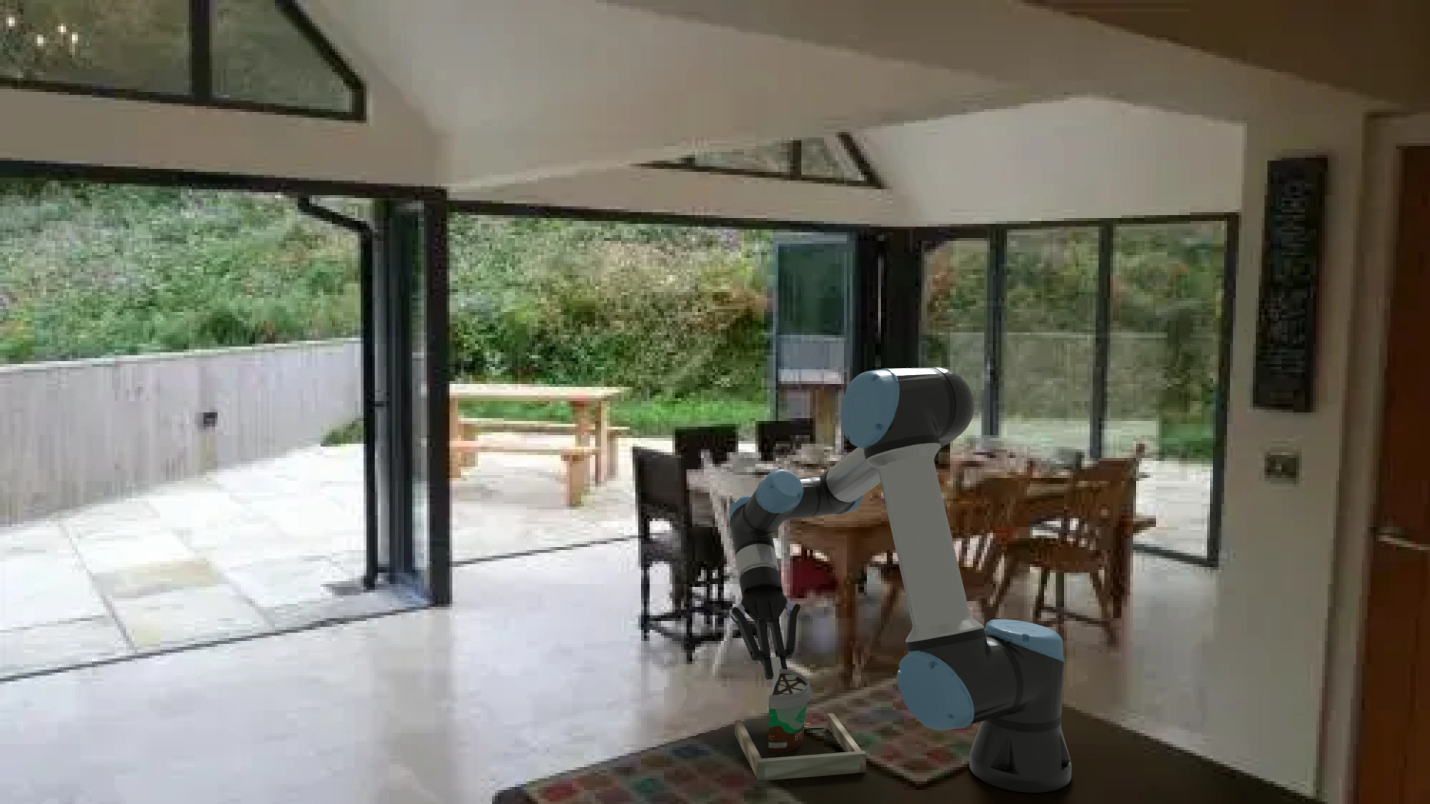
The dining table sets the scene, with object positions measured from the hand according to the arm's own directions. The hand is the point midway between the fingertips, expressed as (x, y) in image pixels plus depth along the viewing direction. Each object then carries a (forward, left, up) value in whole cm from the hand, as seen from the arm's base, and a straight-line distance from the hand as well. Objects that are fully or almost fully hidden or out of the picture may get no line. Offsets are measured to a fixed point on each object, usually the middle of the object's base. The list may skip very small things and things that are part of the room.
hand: (780, 695), depth 187 cm
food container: (-8, 0, -5) cm, 9 cm away
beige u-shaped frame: (-12, 0, -5) cm, 13 cm away
